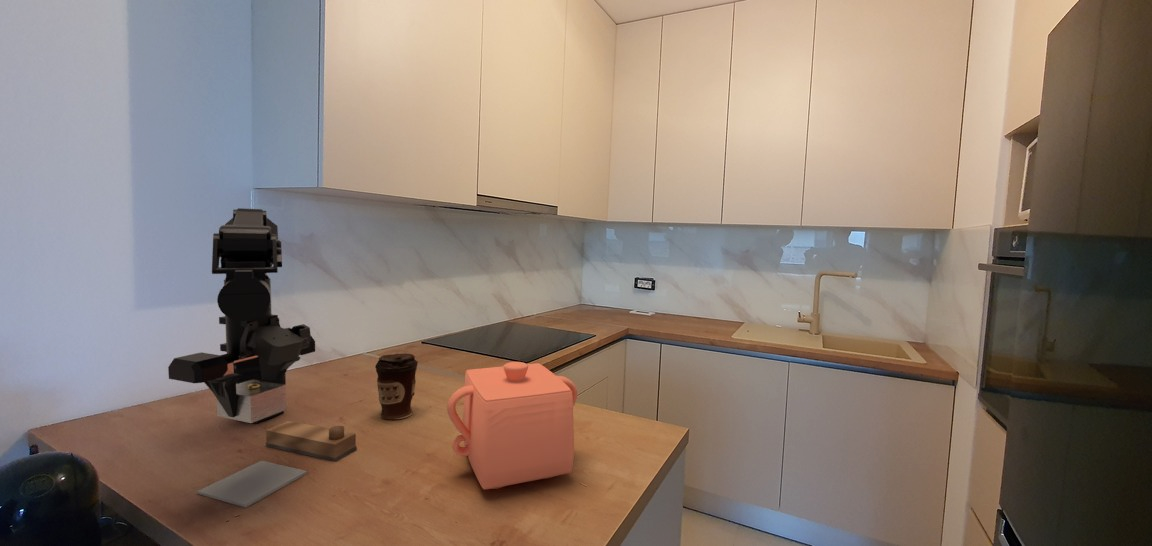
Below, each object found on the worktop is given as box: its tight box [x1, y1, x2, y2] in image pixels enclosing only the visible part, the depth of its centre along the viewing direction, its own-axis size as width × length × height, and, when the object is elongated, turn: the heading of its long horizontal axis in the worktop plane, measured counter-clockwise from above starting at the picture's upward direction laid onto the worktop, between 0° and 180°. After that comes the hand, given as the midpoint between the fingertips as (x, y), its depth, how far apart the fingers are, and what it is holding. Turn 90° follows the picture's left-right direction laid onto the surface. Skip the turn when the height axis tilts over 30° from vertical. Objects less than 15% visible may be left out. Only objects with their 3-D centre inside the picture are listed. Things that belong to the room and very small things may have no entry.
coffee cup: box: [374, 353, 419, 420], centre depth 99 cm, size 9×8×13 cm
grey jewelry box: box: [216, 379, 287, 424], centre depth 70 cm, size 7×6×5 cm
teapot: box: [446, 361, 578, 491], centre depth 81 cm, size 25×23×18 cm
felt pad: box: [196, 460, 308, 508], centre depth 71 cm, size 10×10×1 cm
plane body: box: [265, 420, 358, 462], centre depth 83 cm, size 16×5×5 cm, turn 72°
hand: (252, 409), depth 70 cm, fingers closed on grey jewelry box, 6 cm apart
